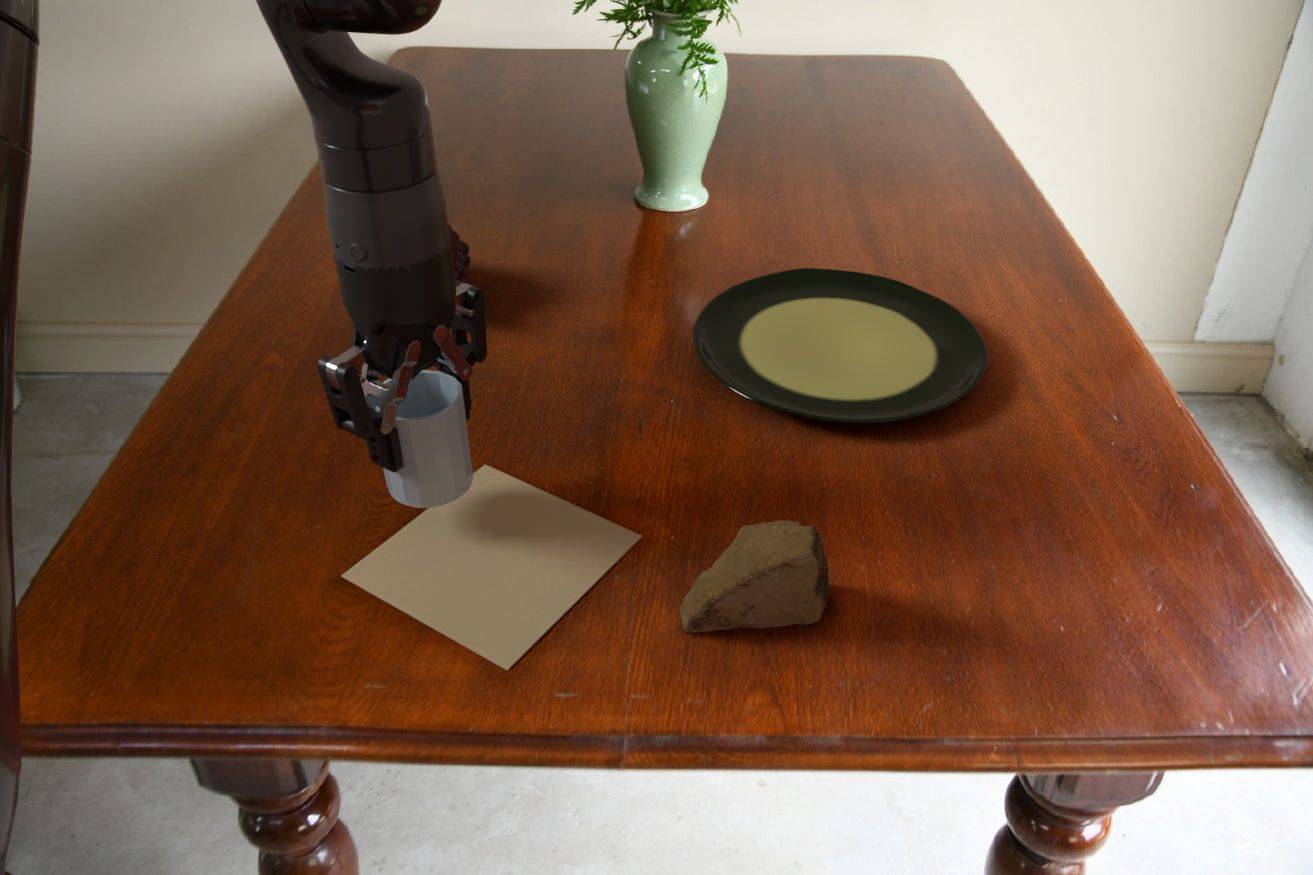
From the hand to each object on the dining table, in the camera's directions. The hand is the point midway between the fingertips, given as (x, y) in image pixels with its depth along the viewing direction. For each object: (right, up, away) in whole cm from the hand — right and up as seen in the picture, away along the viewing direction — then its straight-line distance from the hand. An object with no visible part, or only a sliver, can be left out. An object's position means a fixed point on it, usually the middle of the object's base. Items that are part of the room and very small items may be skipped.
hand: (424, 441), depth 77 cm
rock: (+24, -12, -3) cm, 27 cm away
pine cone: (-7, +15, +33) cm, 36 cm away
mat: (+5, -9, +1) cm, 10 cm away
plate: (+35, +8, +24) cm, 43 cm away
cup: (0, -3, +2) cm, 4 cm away
